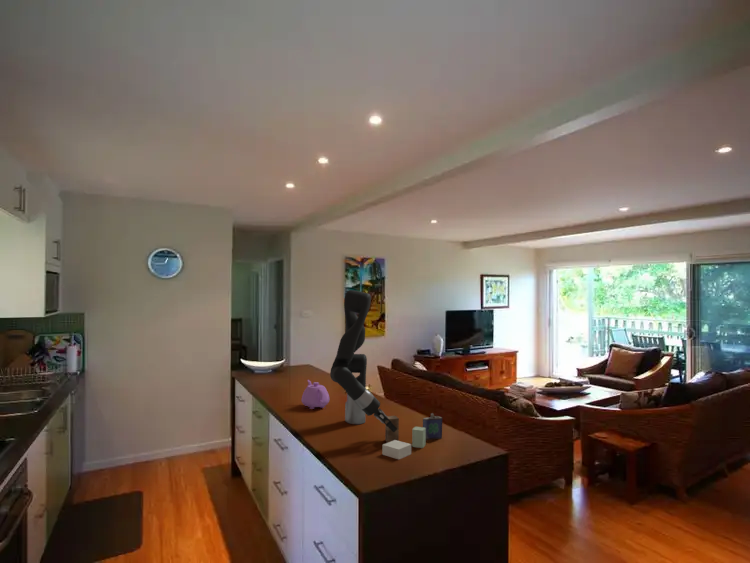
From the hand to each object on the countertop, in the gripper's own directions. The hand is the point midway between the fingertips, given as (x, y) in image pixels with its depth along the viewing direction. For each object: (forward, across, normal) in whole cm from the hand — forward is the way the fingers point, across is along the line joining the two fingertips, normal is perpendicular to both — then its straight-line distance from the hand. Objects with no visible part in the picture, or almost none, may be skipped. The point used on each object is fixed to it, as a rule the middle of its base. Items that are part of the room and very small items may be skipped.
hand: (392, 427), depth 179 cm
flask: (+17, 0, -9) cm, 19 cm away
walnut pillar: (+4, 0, +4) cm, 6 cm away
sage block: (+10, -8, -2) cm, 13 cm away
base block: (+2, -15, +6) cm, 17 cm away
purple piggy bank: (-14, +67, +22) cm, 72 cm away
